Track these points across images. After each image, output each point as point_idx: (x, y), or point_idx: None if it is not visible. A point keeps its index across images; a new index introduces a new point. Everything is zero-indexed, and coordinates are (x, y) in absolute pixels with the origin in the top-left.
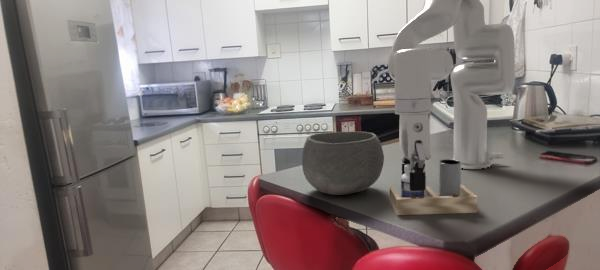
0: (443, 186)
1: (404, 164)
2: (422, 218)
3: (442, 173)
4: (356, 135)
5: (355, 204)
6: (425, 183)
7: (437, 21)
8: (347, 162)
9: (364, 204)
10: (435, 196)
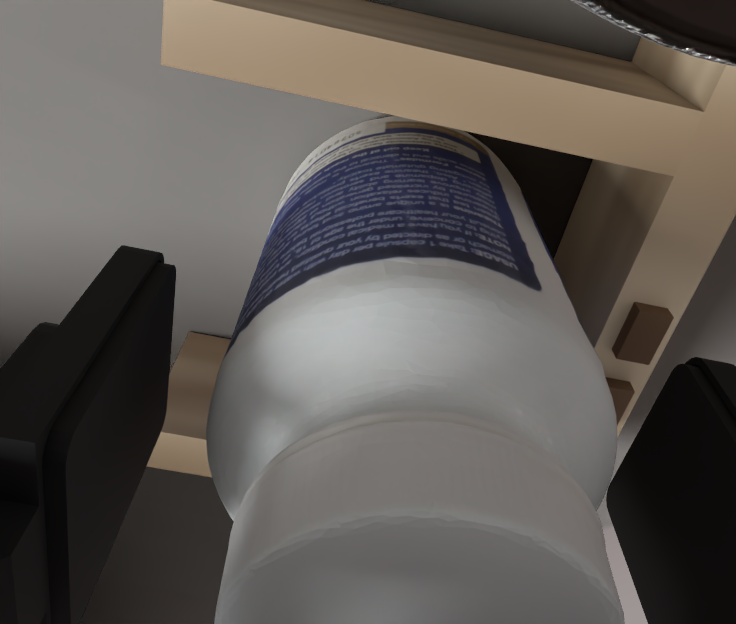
0: None
1: (47, 617)
2: (704, 284)
3: None
4: None
5: (202, 579)
6: (546, 284)
7: None
8: None
9: (215, 536)
10: (692, 146)
